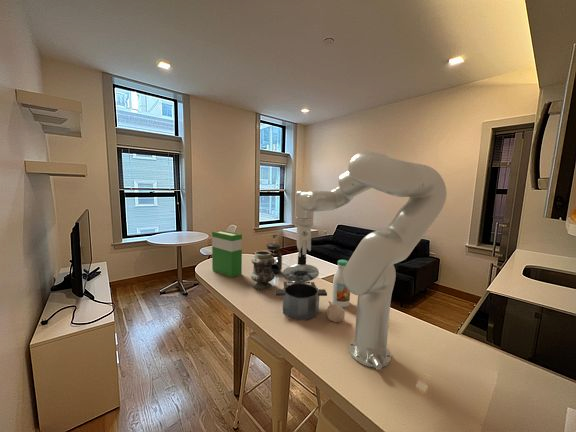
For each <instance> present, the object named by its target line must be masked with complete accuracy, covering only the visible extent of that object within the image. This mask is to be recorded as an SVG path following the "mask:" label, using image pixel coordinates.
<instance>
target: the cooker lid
mask: <svg viewBox="0 0 576 432" xmlns="http://www.w3.org/2000/svg"><path fill="white" fill-rule="evenodd" d="M319 274H320V272H319V269H318V268H317V267H316V266H314V265H311V264H307V263H306V264H298V263H297V264H294V265H290V266H288V267H286V268H284V269H283V271H282V276H283V278H284V279H285V280H287V284H294V283H305V284H311V281H313V280H315V279H316V278H318V277H319Z"/></svg>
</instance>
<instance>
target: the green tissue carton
mask: <svg viewBox="0 0 576 432" xmlns="http://www.w3.org/2000/svg"><path fill="white" fill-rule="evenodd" d="M211 237H212V238H211V242H212V243H211V248H212V249H211V250H212V252H211V253H212V254H211V255H212V256H211V258H212V259H211V260H212V261H211V262H212V266H211V267H212V270H213V271H212V272H215V271H216V272H215V273H217V272H219V273H218V274H220V273H221V274H220V275H223V274H224V275H223V276H225V275H227V276H226V277H228V276H229V277H228V278H231V277H233V278H235V277H234V276H236V277H237V275H238V276H241V275H242V271H243V268H242V266H243V265H242V262H243V261H242V260H243V258H242V257H243V254H242V252H243V244H242V243H243V234H242V233H239V232H233V231H229V230H225V229H222V230H220V231H218V232H217V231H212V232H211ZM240 274H241V275H240Z"/></svg>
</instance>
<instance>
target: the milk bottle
mask: <svg viewBox="0 0 576 432" xmlns="http://www.w3.org/2000/svg"><path fill="white" fill-rule="evenodd" d="M348 261H349V260H346V259H339V260H337V269H336V270H335V273H334V275H333V279H332V280H333V281H332V293H331V296H332V297H331V303H332V304H336V305H338V306H340V307H342V308H347V307H349V305H350V300H351V292H349V291H348V290H347V289H346V287H345V285H344V282H343V271H344V268H345V266H346V264H347V263H348Z"/></svg>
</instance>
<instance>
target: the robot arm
mask: <svg viewBox="0 0 576 432" xmlns="http://www.w3.org/2000/svg"><path fill="white" fill-rule="evenodd" d="M337 179H338V180H337V181H338V186H337V187H336V188H334V189H332V190H312V191H311V190H298V191H296V192H295V199H294V201H295V202H294V204H295V205H294V222H293V223H294V224H293V225H294V226H296V247H297V250H298V255H297V265H298V264H307V251H308V252H311V251H312V228H311V227H313V226H314V212H325V211H326V212H327V211H328V212H329V211H334V210H337V209H339V208H342V207H343V206H345V205H348V204H349V203H350V202H351V201H352V200H353V199H354V198H355V197H357V196H358V195H360V194H362V193H364V192H366V191H369V190H371V189H374V190H377V191H379V192H382V193H384V194H387V195H389V196H392V197H393V196H394V197H398V198H408V199H407V202H406V203H405V204H404V205H403V206H402V207H400V209H399V210H398V211H397V213H396V214H395V215H394V217H393V219H392V220H391V222H390V223H389V224H388V225H387V227H385V228H384V229H380V230H379V229H378V230H375V231H372V232H370V233H368V234H367V235H365V236H364V237H363V238H362V239H361V240H360V242H359V243H358V245H357V247H356V248H355V250H354V251H353V253H352V255H351V256H350V258H349V260H347V261H348V263H347V264H346V266H345V268H344V271H343V282H344V285H345V287H346V289H347V290H348V291H349V292H350V294H353V295H355V296H357V303H356V317H355V330H354V331H355V332H354V339H353V340H352V341H351V342H350V343H349V346H348V351H349V353H350V355H351V357H352V358H353V359H354V360H355V361H356V362H358V363H360V364H362V365H363V366H365V367H368V368H374V369H375V370H377V371H381V370H382V369H383V368H384V367H387V366H389V365H390V363H391V362H392V354H391V351H390V350H389V348H388V346H387V345H388V332H389V323H390V311H391V301H392V294H393V291H394V287H395V282H396V277H397V275H396V268H395V264H397V263H398V264H399V263H401V262H402V261H405V260H407V258H408V257H409V256H410V255H411V253H412V252H413V250H414V249H415V247H416V246H418V244H419V243H420V242H421V240H422V238H423V237H424V236H425V234H426V233H427V232H428V230H429V228H430V227H431V226H432V225H433V224H434V222H435V221H436V219H437V218H438V217H439V215H440V214H441V212H442V210H443V208H444V206H445V203H446V200H447V186H446V182H445V181H444V179H443V177H442V175H441V174H440V173H439V172H438V171H437V170H436V169H435V168H433V167H431V166H429V165H426V164H422V163H415V162H411V161H406V160H402V159H396V158H392V157H390V156H388V155H386V154H384V153H379V152H374V151H370V150H363V151H360V152H357V153H355V155H353V156H352V158H351V159H350V161H349V162H348V166H347V170H346V171H344V172H342V173H341V174H340V175H339V176H338V178H337Z"/></svg>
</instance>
